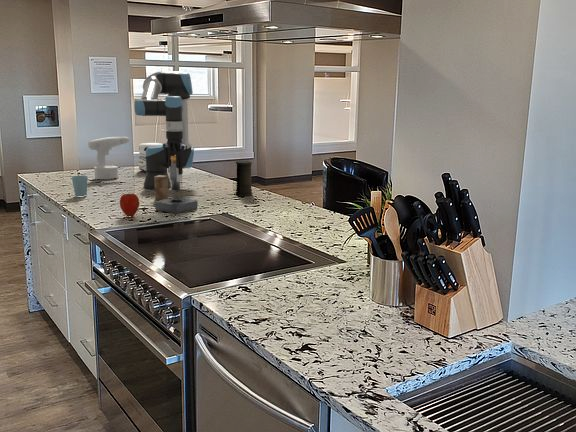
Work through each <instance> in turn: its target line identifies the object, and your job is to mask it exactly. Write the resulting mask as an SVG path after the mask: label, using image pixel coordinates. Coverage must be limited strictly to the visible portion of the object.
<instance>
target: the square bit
mask: <svg viewBox="0 0 576 432" xmlns="http://www.w3.org/2000/svg"><path fill="white" fill-rule="evenodd" d="M168 176H169V175H168ZM168 176H165V175H158V176H154V185H155V189H154V200H155V199H156V200H155V201H160V200H165V199H169V198H170V197H169V192H170V191H169V188H168Z"/></svg>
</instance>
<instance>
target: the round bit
mask: <svg viewBox="0 0 576 432" xmlns="http://www.w3.org/2000/svg"><path fill="white" fill-rule="evenodd" d="M177 167H178V166H177V160H176V155H171V181H170V182H171V187H170V188H171V191H180V190H181V181H179V182H177V173H176V168H177Z"/></svg>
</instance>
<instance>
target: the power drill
mask: <svg viewBox="0 0 576 432" xmlns="http://www.w3.org/2000/svg"><path fill="white" fill-rule="evenodd" d="M129 142H130V138H129V137H128V136H109V137H108V136H107V137H101V138H96V139H92V140H89V141H88V144H87V146H88V149H90V150H91V151H96V152H97V153H96V162H97V166H93V171H94V178H95V180H97V179H107V180H115V179H114V178H117V179H118V177H119V175H118V173H119V171H118V170H119V169H118V168H119V167H118V166H116V165H107V164H106V163H107V161H106V157H107V156H109V154H110V153H109V152H110V151H111V150H112V148H116V147H119V146H121V145H125V144H128V143H129Z"/></svg>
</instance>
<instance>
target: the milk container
mask: <svg viewBox="0 0 576 432" xmlns="http://www.w3.org/2000/svg"><path fill="white" fill-rule="evenodd" d="M163 144H164V143H163V142H162V143H161V142H143V143H139V144H138V151H139V157H138V158H139V160H138V169H139V170H140V171H141V172H144V173H146V157H145V156H146V149H147V148H148V147H152V146H157V145H163Z"/></svg>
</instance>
